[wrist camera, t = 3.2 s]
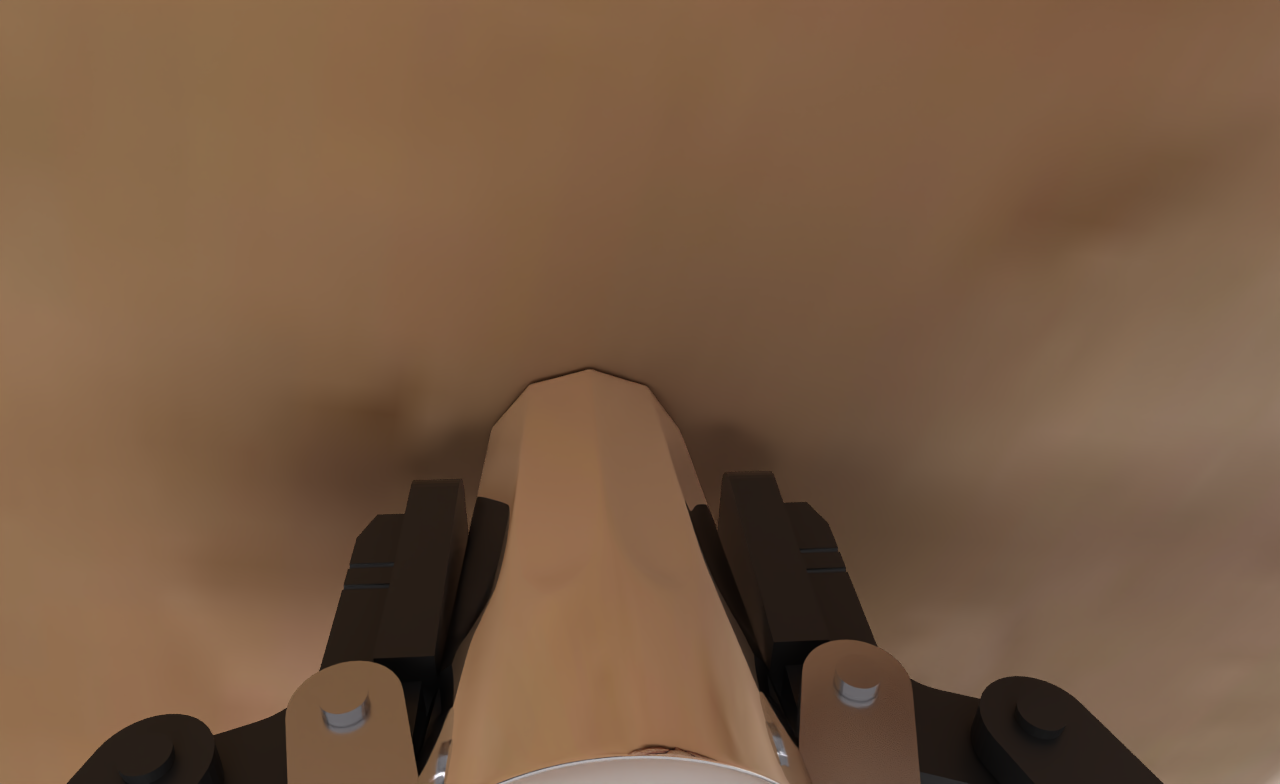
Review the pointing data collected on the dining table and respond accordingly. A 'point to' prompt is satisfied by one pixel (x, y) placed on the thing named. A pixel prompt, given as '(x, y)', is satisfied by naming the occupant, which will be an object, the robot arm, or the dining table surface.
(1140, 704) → the dining table surface
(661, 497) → the milkshake
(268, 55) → the dining table surface
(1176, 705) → the dining table surface
